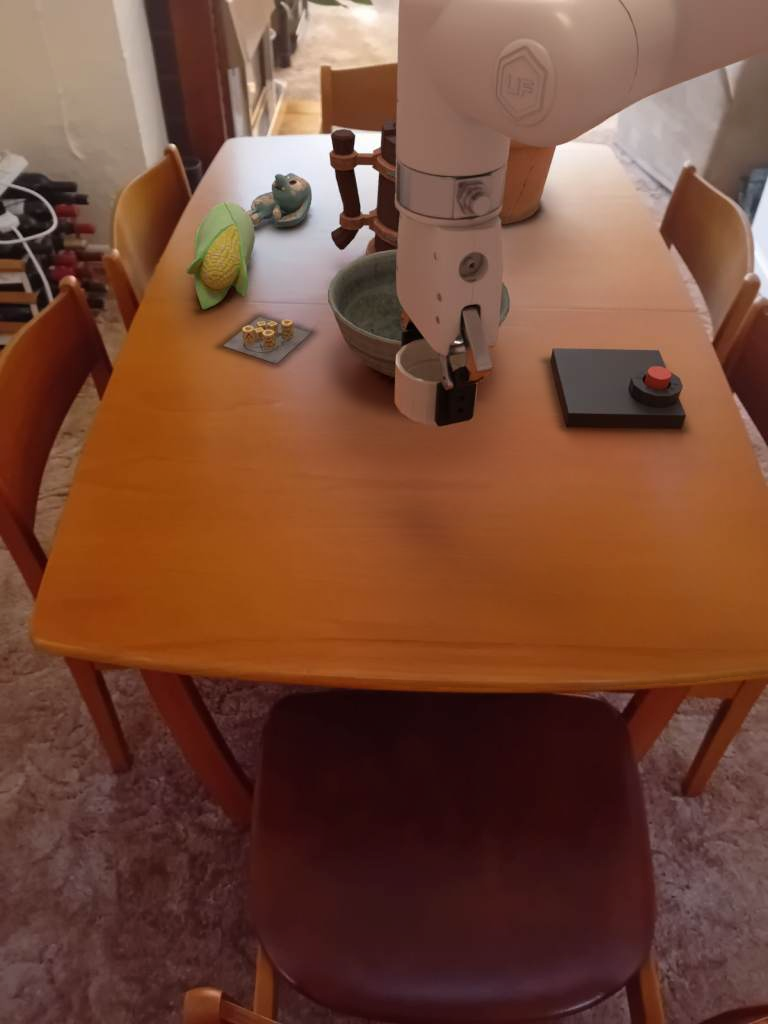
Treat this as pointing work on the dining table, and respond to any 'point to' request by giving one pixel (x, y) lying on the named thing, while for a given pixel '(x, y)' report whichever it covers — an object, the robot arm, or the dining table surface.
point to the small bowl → (420, 380)
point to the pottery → (524, 180)
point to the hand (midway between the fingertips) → (435, 393)
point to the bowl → (375, 309)
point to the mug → (344, 163)
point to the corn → (222, 253)
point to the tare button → (658, 378)
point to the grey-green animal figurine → (283, 201)
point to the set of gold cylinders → (267, 339)
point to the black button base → (614, 389)
